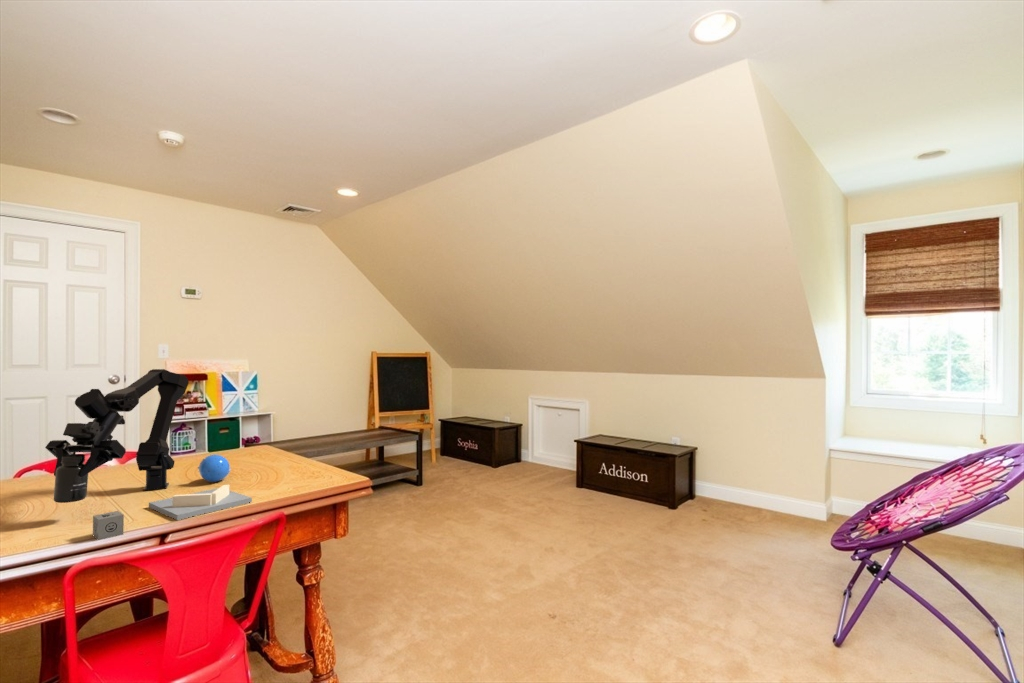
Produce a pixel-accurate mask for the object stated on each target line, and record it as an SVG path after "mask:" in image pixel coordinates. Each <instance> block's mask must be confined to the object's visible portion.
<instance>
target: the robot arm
mask: <svg viewBox="0 0 1024 683" xmlns="http://www.w3.org/2000/svg"><path fill="white" fill-rule="evenodd" d="M188 386H189V379H188V377H187V376H186V375H185V374H179V373H176V372H172V371H169V370H168V369H164V368H161V369H160V368H159V369H157V368H156V369H155V368H153V369H150V370H148V372H147V373H146V374H144V375H142V376H141V377H140V378H138V379H137V380H135V381H134V382H133V383H131V384H130V385H128V386H127V387H124V388H120V389H117V390H114V391H111V392H108V393H106V394H105V395H104V394H103V393H102V391H101V390H100V388H90V390H89V391H87V392H85V393H82V394H81V395H80V396H77V397H76V398H75V401H74V405H75V406H76V407H77V408H78V409H79V410H80V411H81V412H82V413H83V414H84V416H86V418H88V419H92V421H88V422H87V423H82V422H80V423H79V422H78V423H77V422H72V423H69V422H68V423H67V424H66V425H65V428H64V430H63V433H62V435H63V436H64V437H65V436H67V437H70V438H72V439H71V441H73V442H74V443H76V444H71V443H70V442H69V441H68V440H67V439H54V440H50V441H48V443H47V444H46V446H45V449H46V451H48V452H49V453H50V454H52V455H53V456H54V457H56V462H55V467H54V472H53V477H55V475H56V469H57V468H58V467H59V466H61V465H62V463H61V461H62V456H64V455H70V454H77V453H83V454H84V453H86V454H88V453H90V455H89V456H88V459H87V460H86V461H85V463H84V464H85V465H84V466H83V468H82V470H81V472H80V474H79V476H81V477H83V476H85V475H86V474H88V475H89V473H91V472H93V471H95V469H97V468H99V467H101V466H103V465H104V464H106V463H108V462H111V461H113V459H116V460H117V459H123V458H124V456H125V455H126V448H125V446H123V444H121V443H120V441H119V440H118V439H113V437H114V436H113V435H112V433H113V432H114V430H115V428H116V427H117V426H118V425H126V420H125V418H124V415H121V414H120V413H119V412H121V413H122V412H123V413H126V412H127V413H129V412H132V411H133V410H134V409H135V408H136V407H137V406H138V404H139V403H140V399H142V398H141V397H143V396H145V395H146V394H147V393H148V392H150V391H152V390H153V389H154V388H156V387H157V391H158V394H159V397H160V399H159V403H158V406H157V409H156V413H155V416H154V420H153V423H152V426H151V430H150V434H149V437H148V439H147V440H146V441H144V442H140V443H139V444H138V449H137V451H136V453H135V455H136V457H135V460H136V461H135V462H136V464H137V467H138V471H139V472H141V471H145V486H144V488H143V489H142V492H144V491H145V492H146V491H153V490H163V489H167V488H168V486H169V485H170V482H167V481H168V480H167V473H168V471H169V470H172V469H173V468H174V467H175V460H174V459H173V457H171V455H170V454H169V453H170V447H169V444H168V442H167V440H168V435H169V432H170V428H171V425H172V422H173V417H174V413H175V409H176V407H177V403H178V400H179V399H181V398H182V396H184V394H185V393H186V391H187V388H188Z"/></svg>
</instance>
